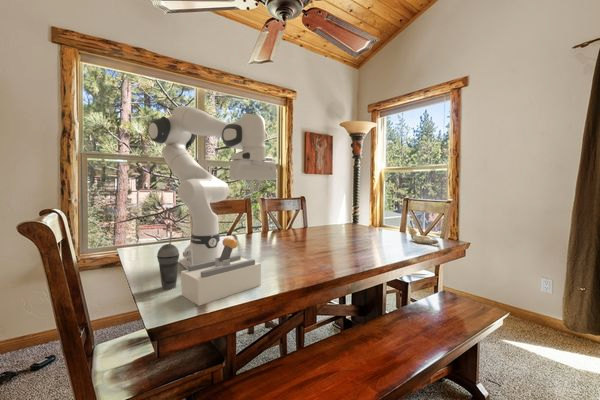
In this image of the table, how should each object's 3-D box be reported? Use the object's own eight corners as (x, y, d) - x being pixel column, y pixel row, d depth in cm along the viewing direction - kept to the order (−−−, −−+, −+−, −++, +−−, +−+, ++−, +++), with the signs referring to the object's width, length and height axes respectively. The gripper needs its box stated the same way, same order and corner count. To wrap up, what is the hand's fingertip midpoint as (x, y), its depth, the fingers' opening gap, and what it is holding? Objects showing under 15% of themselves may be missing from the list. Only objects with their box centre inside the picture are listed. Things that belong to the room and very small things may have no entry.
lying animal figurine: (412, 239, 188) (412, 224, 188) (442, 245, 170) (442, 229, 169) (403, 240, 184) (403, 225, 183) (433, 247, 166) (433, 230, 165)
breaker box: (181, 294, 95) (180, 262, 94) (241, 277, 112) (241, 250, 112) (198, 305, 87) (198, 270, 86) (260, 285, 104) (260, 255, 103)
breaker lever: (215, 260, 100) (224, 236, 102) (222, 262, 102) (230, 239, 104) (223, 263, 96) (232, 238, 98) (230, 264, 98) (238, 241, 100)
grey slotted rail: (187, 270, 95) (187, 265, 95) (238, 258, 110) (238, 254, 110) (203, 277, 88) (203, 272, 88) (255, 264, 103) (255, 260, 102)
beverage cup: (162, 283, 105) (161, 230, 104) (183, 283, 106) (181, 230, 104) (154, 291, 98) (152, 233, 97) (176, 290, 99) (174, 233, 97)
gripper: (270, 158, 119) (270, 191, 120) (226, 154, 105) (227, 192, 106) (280, 157, 115) (280, 191, 116) (236, 153, 100) (236, 192, 101)
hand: (254, 191), depth 111 cm, fingers closed
